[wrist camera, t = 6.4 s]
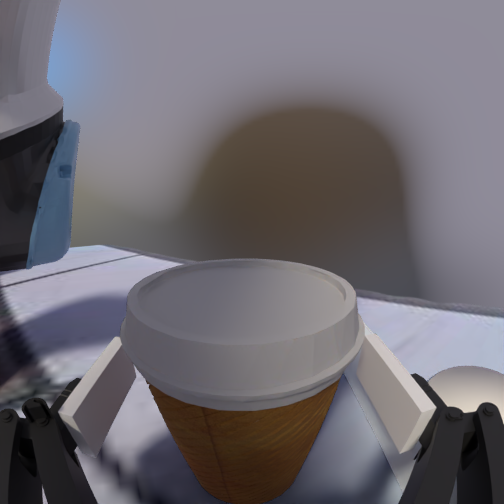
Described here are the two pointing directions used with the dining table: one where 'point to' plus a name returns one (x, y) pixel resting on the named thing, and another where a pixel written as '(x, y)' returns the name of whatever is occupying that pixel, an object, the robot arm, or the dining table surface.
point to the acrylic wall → (385, 430)
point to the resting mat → (469, 387)
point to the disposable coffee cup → (243, 365)
